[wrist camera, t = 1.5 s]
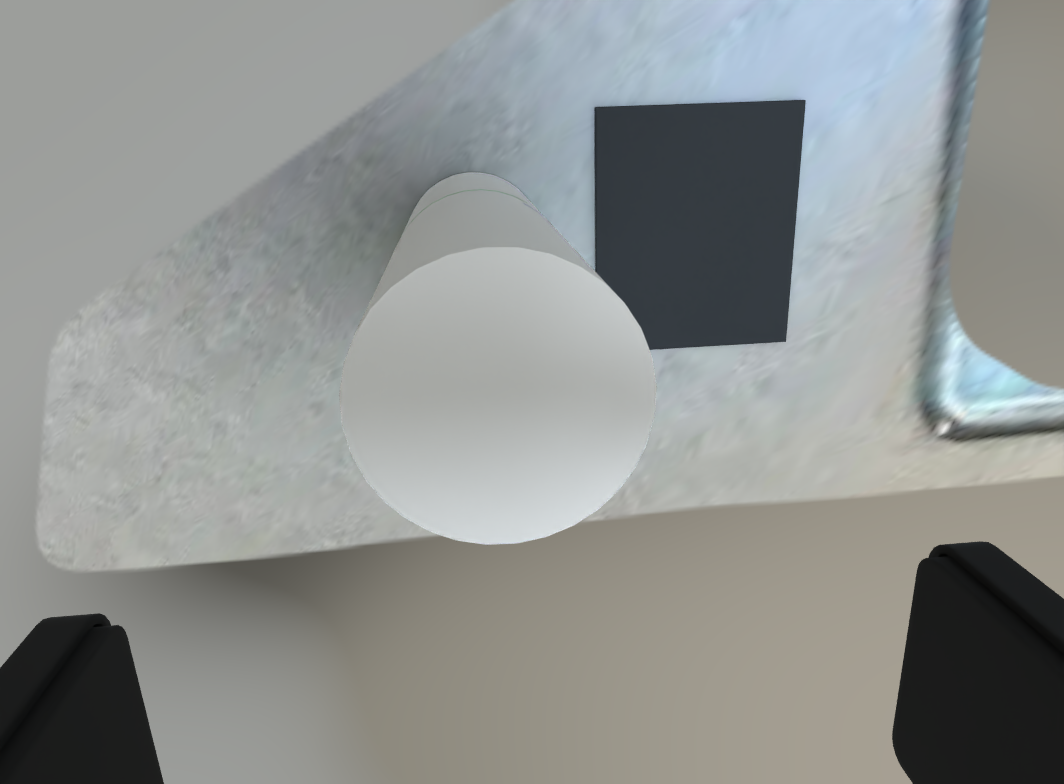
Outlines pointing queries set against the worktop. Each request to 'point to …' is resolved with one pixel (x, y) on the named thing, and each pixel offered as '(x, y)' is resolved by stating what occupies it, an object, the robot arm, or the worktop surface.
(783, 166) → the mat
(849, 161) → the worktop surface
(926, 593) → the robot arm
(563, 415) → the cylindrical container
